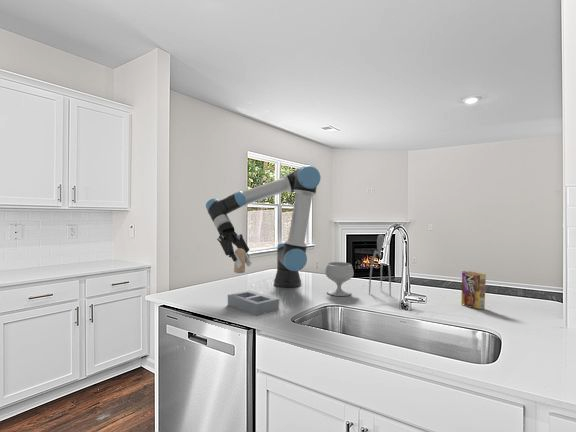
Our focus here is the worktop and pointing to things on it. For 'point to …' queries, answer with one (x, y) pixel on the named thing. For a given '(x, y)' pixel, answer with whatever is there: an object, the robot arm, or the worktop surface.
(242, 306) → the divided tray
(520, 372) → the worktop surface
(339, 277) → the chalice
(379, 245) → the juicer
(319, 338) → the worktop surface
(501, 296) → the worktop surface
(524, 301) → the worktop surface
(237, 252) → the peach dome-topped cylinder
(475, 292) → the candy box
